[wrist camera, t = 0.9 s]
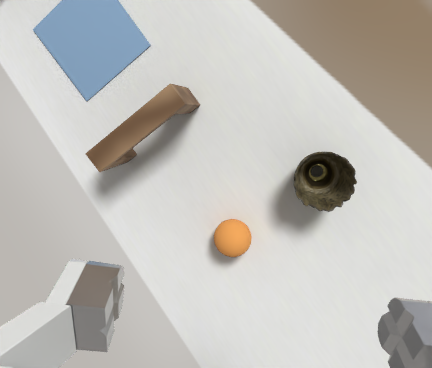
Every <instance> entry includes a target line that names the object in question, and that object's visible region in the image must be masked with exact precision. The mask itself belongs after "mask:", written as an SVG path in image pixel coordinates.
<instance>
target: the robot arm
mask: <svg viewBox="0 0 432 368" xmlns="http://www.w3.org/2000/svg"><path fill="white" fill-rule="evenodd" d="M123 276H124V267H123V266H121V265H114V264H107V263H101V262H94V261H84V260H77V259H71V260H70V261H69V262H68V263H67V265H66V266H65V268H64V270H63V272H62V274H61V275H60V277H59V279H58V280H57V282H56V284H55V286H54V287H53V289H52V291H51V293H50V294H49V296H48V298H47V300H46V302H39V303H37V304H35V305H34V306H32V307H31V308H29V309H28V310H26V311H24V312H23V313H21V314H20V315H18V316H16V317H15V318H13V319H12V320H10V321H9V322H7V323H5V324H4V325H2V326H1V327H0V368H60V367H61V366H62V365H63V364H64V363H65V362H66V361H67V360H68V359H69V358H70V357H71V356H72V355H73V354H74V353H75V352H76V350H77V349H78V350H89V351H101V352H107V351H108V348H109V345H110V342H111V339H112V336H113V333H114V321H115V320H116V319H118V318H119V315H120V311H121V308H122V303H123V298H124V285H123V284H122V283H121V282H122V279H123ZM388 308H389V312H388V313H386V314H384V315H383V316H382V317H381V319H380V321H379V323H378V337H379V341H380V344H381V346H382V348H383V349H384V350H385V351H386V352H387V353H388V354H389V355H390V357H389V360H388V363H389V366H390V368H432V302H431V301H422V300H412V299H403V298H394V299H392V300H391V301H390V302H389V304H388Z"/></svg>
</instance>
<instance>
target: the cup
mask: <svg viewBox="0 0 432 368" xmlns="http://www.w3.org/2000/svg"><path fill="white" fill-rule="evenodd" d="M314 166H320V167H321V168H322V170H323V173H322V175H321V176H319V177H314V176H313V175H312V174H311V169H312V168H313V167H314ZM354 184H357V181H356V179H355V169H354V168H353V166H352V165H351V164H350V163H349V161H348V160H347V159H346V158H344V157H341V156H339V155H338V154H335V153H333V152H316V153H313V154H310V155H308V156H307V157H305V158H304V159H303V160H302V161H301V162H300V164H299V165H298V167H297V169H296V172H295V176H294V188H295V192H296V195H297V197H298V198H299V200H301V201H302V202H303V204H304V205H305V206H308V205H309V206H311V207H313V208H316V209H318V210H319V211H322V210H325V211H328V212H330V211H332V210H334V208H335V207H342V205H343V201H344V202H346V201H347V200H350V198H351V195H352V194H353V193H354V191H355V189H354V186H353V185H354Z"/></svg>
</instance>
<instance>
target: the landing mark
mask: <svg viewBox="0 0 432 368" xmlns="http://www.w3.org/2000/svg"><path fill="white" fill-rule="evenodd" d="M33 30H34V32H35V33H36V34H37V36H38V37H39V38H40V40H41V41H42V42H43V44H44V45H45V46H46V48H47V49H48V50H49V52H50V53H51V54H52V56H53V57H54V58H55V60H56V61H57V62H58V64H59V65H60V66H61V68H62V69H63V70H64V72H65V73H66V74H67V76H68V77H69V78H70V80H71V81H72V82H73V84H74V85H75V86H76V88H77V89H78V90H79V92H80V93H81V94H82V95H83V97H84V98H85V99H86V101H88V100H89V99H90V98H91V97H93V96H94V95H95V94H96V93H97V92H98V91H99V90H101V89H102V88H103V87H104V86H105V85H106V84H107V83H109V82H110V81H111V80H112V79H113V78H114V77H115V76H116V75H118V74H119V73H120V72H121V71H122V70H123V69H124V68H126V67H127V66H128V65H129V64H130V63H131V62H132V61H134V60H135V59H136V58H137V57H138V56H139V55H140V54H142V53H143V52H144V51H145V50H146V49H147V48H148V47H150V46H151V45H150V44H149V42H148V41H147V39H146V38H145V37H144V35H143V34H142V33H141V31H140V30H139V28H138V27H137V26H136V24H135V23H134V22H133V20H132V19H131V17H130V16H129V15H128V13H127V12H126V11H125V9H124V8H123V6H122V5H121V4H120V2H119V1H118V0H62V1H61V2H60V3H59V4H58V5H57V6H56V7H55V8H54V9H53V10H52V11H51V12H50V13H49V14H48V15H47V16H46V17H45V18H44V19H43V20H42V21H41V22H40V23H39V24H38V25H37V26H36V27H35V28H34V29H33Z"/></svg>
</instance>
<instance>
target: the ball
mask: <svg viewBox="0 0 432 368" xmlns="http://www.w3.org/2000/svg"><path fill="white" fill-rule="evenodd" d="M214 242H215V245H216V247H217V249H218V250H219V251H220V252H221V253H222V254H224V255H226V256H229V257H237V256H240V255H242V254H244V253H245V252H246V251H247V250H248V248H249V246H250V244H251V233H250V230H249V228H248V227H247V225H246V224H244V223H243V222H241V221H239V220H236V219H229V220H226V221H224V222H222V223H221V224H220V225H219V226H218V227H217V229H216V231H215V234H214Z"/></svg>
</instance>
